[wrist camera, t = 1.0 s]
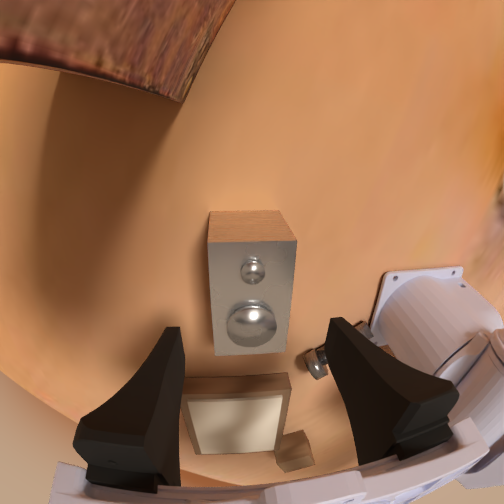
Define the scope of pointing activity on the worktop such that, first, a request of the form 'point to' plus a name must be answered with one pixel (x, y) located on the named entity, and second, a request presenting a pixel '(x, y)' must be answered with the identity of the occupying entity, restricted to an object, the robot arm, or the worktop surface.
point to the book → (114, 39)
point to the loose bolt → (318, 359)
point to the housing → (250, 281)
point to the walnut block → (294, 452)
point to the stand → (236, 413)
